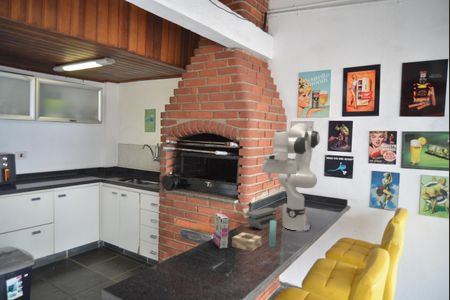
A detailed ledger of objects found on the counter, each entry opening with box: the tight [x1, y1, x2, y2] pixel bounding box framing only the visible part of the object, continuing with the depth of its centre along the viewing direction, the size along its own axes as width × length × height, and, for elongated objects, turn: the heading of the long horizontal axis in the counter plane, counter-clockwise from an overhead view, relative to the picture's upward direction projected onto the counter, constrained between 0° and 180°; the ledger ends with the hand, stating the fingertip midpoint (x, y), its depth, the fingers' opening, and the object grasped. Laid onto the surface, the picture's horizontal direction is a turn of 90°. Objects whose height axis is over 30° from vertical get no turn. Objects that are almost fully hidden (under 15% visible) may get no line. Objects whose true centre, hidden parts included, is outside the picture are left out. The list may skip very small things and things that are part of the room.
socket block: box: [231, 232, 263, 253], centre depth 163 cm, size 12×12×5 cm
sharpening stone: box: [245, 206, 278, 230], centre depth 201 cm, size 25×8×11 cm, turn 138°
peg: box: [268, 219, 278, 248], centre depth 164 cm, size 4×4×14 cm
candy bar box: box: [212, 212, 230, 249], centre depth 163 cm, size 11×5×16 cm, turn 21°
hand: (278, 181), depth 171 cm, fingers open, 8 cm apart
